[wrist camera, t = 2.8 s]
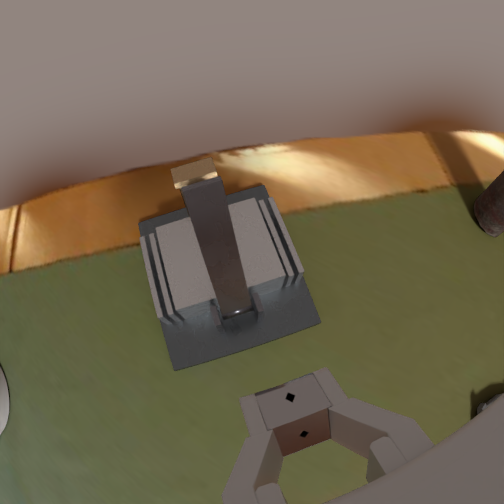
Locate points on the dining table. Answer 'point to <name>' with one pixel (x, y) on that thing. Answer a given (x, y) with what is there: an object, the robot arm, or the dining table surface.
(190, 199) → the retention strap
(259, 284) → the grey boxy piece
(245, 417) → the robot arm
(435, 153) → the dining table surface
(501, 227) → the candle
